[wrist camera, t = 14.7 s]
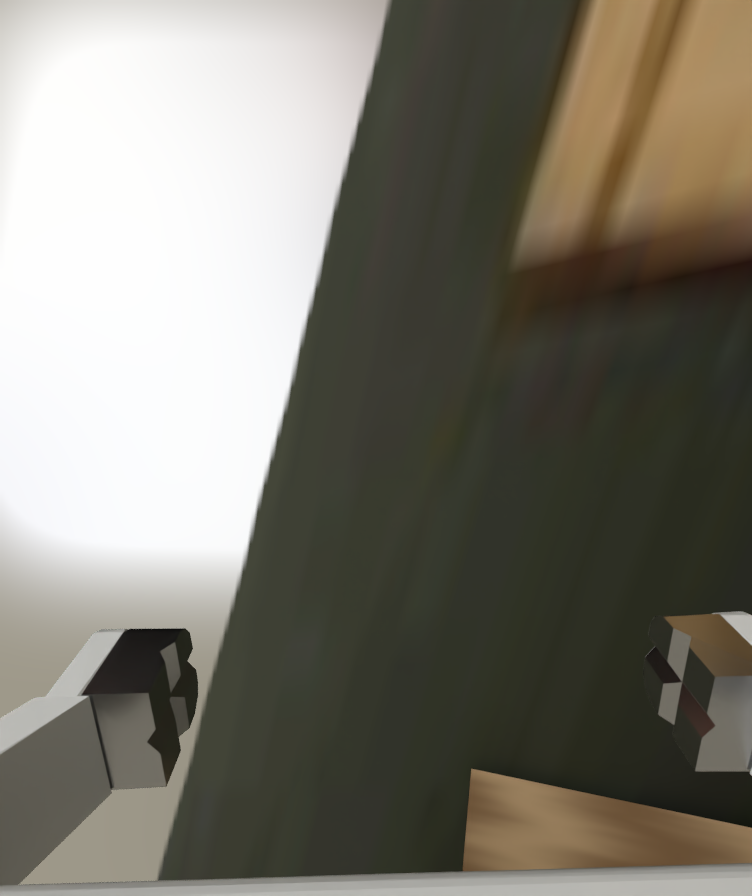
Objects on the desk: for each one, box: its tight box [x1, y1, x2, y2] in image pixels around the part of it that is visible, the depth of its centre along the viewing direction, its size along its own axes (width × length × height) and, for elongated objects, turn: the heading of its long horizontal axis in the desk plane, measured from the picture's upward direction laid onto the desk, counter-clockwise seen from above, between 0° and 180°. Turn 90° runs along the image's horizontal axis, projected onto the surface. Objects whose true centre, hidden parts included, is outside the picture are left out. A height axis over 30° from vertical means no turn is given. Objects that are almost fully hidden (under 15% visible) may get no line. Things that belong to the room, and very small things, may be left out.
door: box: [463, 769, 752, 871], centre depth 20 cm, size 12×2×6 cm, turn 86°
